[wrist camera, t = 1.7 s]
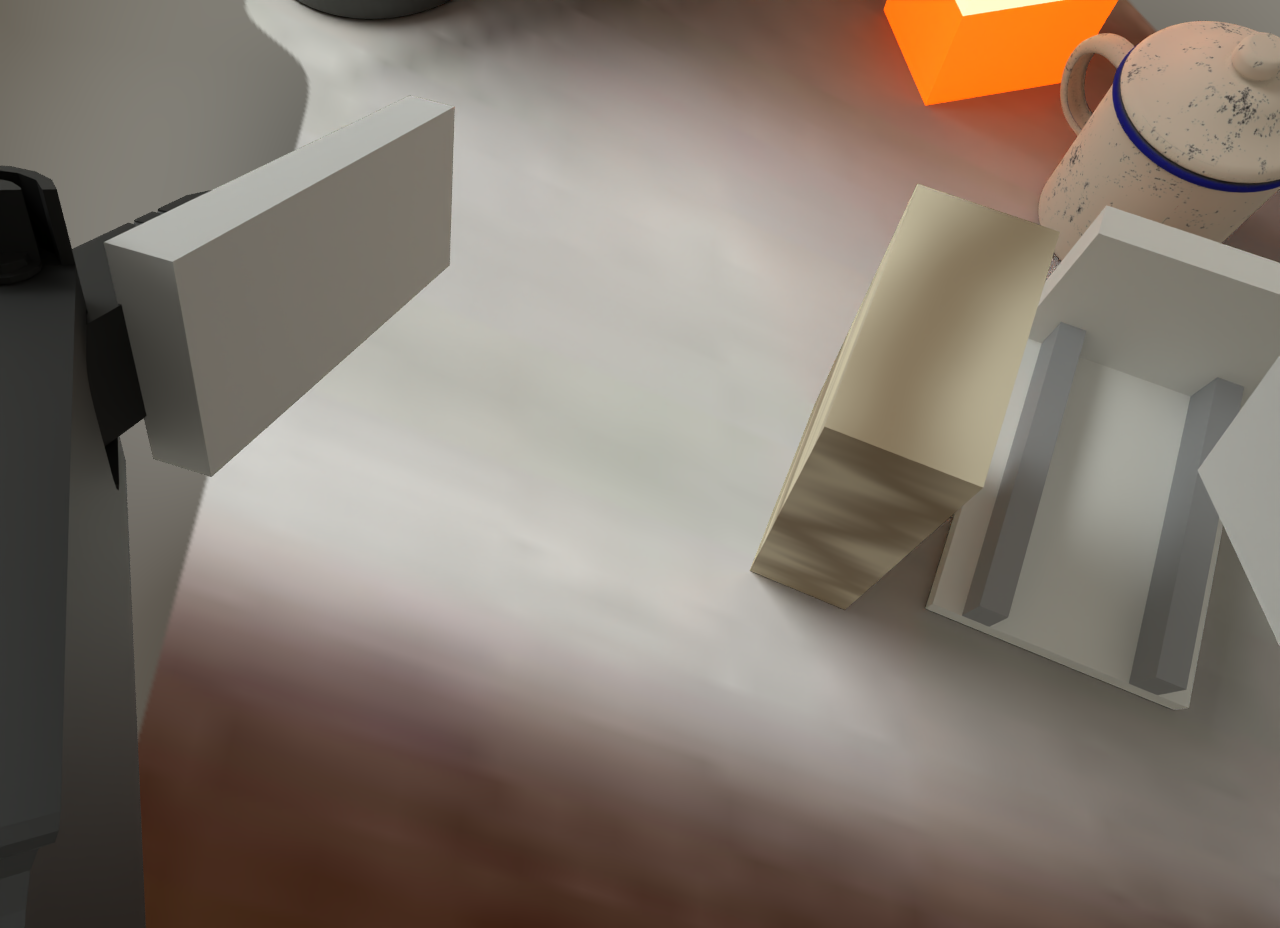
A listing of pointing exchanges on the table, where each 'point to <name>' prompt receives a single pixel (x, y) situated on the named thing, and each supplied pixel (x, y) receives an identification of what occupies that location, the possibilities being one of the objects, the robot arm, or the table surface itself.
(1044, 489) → the track
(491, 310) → the table surface
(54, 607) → the robot arm
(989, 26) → the orange juice
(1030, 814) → the table surface
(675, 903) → the table surface
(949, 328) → the tall wooden block
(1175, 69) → the teacup with lid
